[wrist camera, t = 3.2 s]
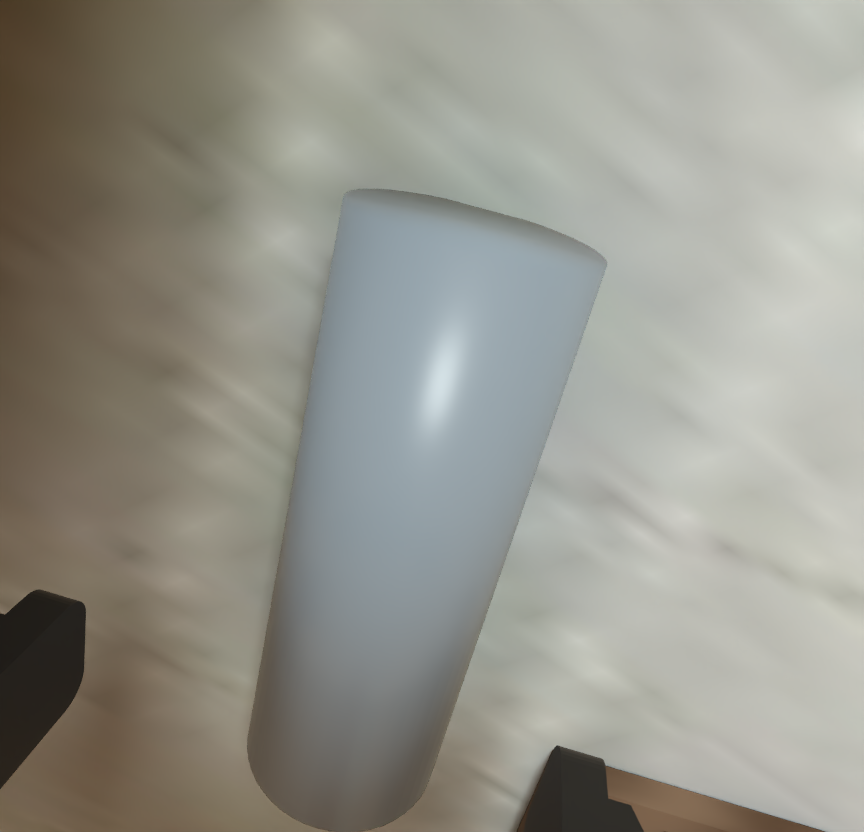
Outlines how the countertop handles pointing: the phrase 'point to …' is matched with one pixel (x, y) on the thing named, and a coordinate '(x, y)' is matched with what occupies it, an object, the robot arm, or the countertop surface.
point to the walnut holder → (684, 808)
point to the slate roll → (407, 491)
